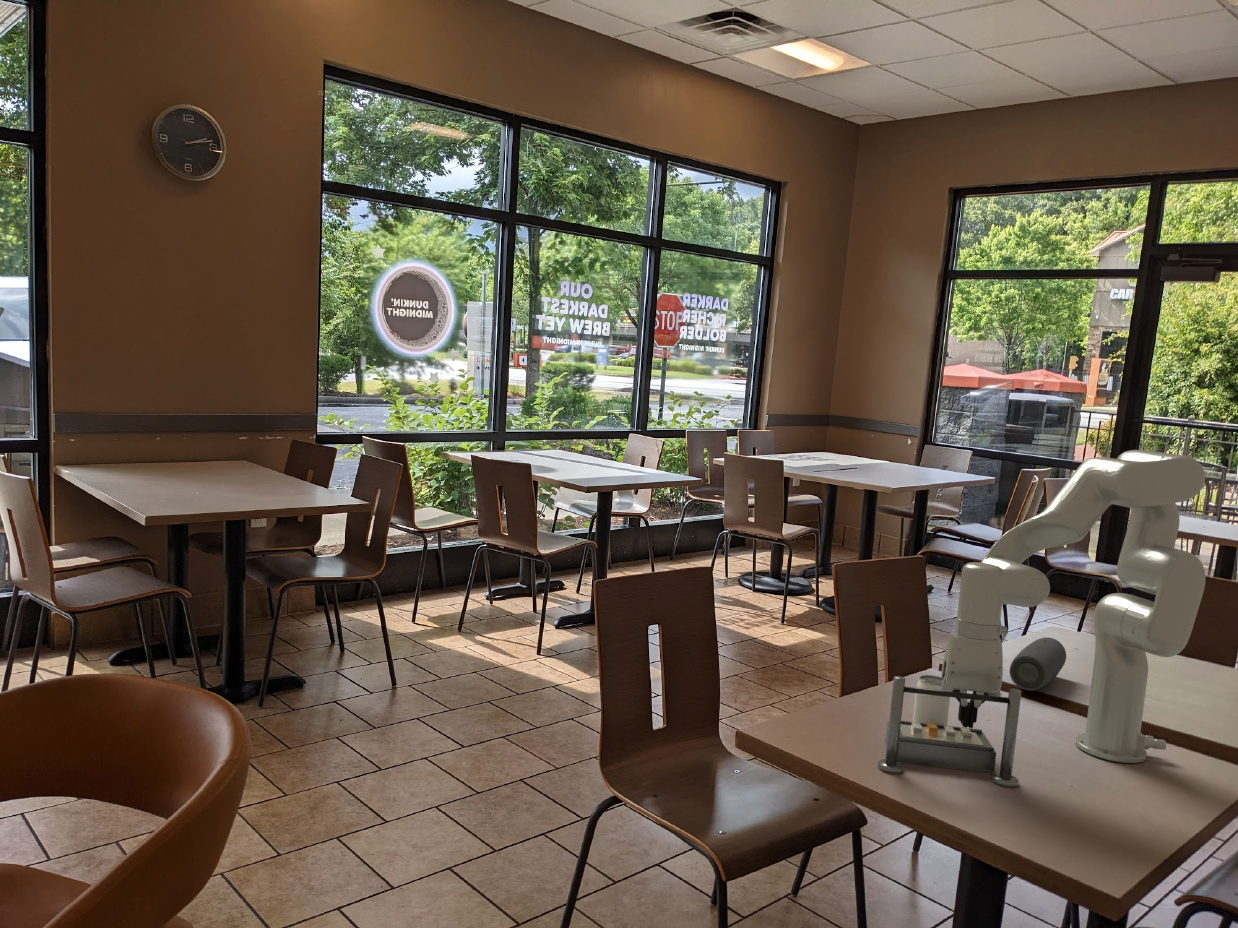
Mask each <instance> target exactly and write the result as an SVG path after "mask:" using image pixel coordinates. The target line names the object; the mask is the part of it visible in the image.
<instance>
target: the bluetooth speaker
mask: <svg viewBox="0 0 1238 928" xmlns="http://www.w3.org/2000/svg"><path fill="white" fill-rule="evenodd" d="M1066 660H1067V651H1066V649H1065V646H1064V645H1063V644H1062V643H1061V642H1060V641H1059V640H1057V639H1056V638H1053V637H1041V638H1038V639H1036V640H1034V641H1033V642H1031V643H1030V644H1029V643H1028V644H1027V645H1026V646H1025V647H1024V648H1022V650H1021V651H1020V652H1019V653H1017V655H1016V656H1015V657H1014V658H1013V660H1012V661H1011V663H1010V667H1009V676H1010V679H1011V681H1012V682H1013V684H1014V685H1016V686H1017V687H1018V688H1020V689H1022V690H1025V691H1030V692H1031V691H1032V692H1034V691H1039V690H1041V689H1042V688H1044V687H1045V686H1046V685H1048V684H1049V683H1051V682H1052V681H1053V680H1055V678H1056V677H1057V676H1058V675H1059V673H1060V672H1061V670H1062V669H1063V667H1064V666H1065V663H1066ZM1040 688H1041V689H1040ZM1038 689H1039V690H1038Z"/></svg>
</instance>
